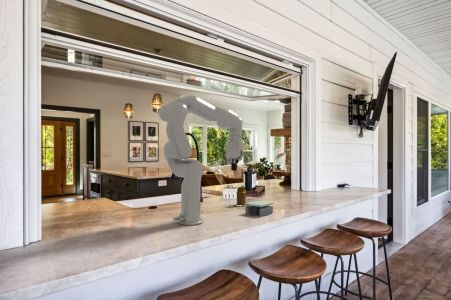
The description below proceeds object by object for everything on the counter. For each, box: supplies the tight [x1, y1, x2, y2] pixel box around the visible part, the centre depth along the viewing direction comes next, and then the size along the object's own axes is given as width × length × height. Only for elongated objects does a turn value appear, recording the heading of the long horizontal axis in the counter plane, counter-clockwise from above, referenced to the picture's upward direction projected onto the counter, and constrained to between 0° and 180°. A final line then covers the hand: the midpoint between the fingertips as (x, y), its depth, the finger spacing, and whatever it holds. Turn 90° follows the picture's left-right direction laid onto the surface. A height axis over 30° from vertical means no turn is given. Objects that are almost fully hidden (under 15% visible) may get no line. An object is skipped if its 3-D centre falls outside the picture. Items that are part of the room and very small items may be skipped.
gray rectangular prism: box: [251, 206, 267, 216], centre depth 170 cm, size 8×3×5 cm, turn 122°
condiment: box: [236, 186, 247, 205], centre depth 196 cm, size 7×8×12 cm
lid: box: [245, 200, 274, 207], centre depth 170 cm, size 12×11×1 cm
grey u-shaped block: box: [245, 205, 274, 218], centre depth 170 cm, size 12×11×5 cm
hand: (233, 170), depth 170 cm, fingers closed
